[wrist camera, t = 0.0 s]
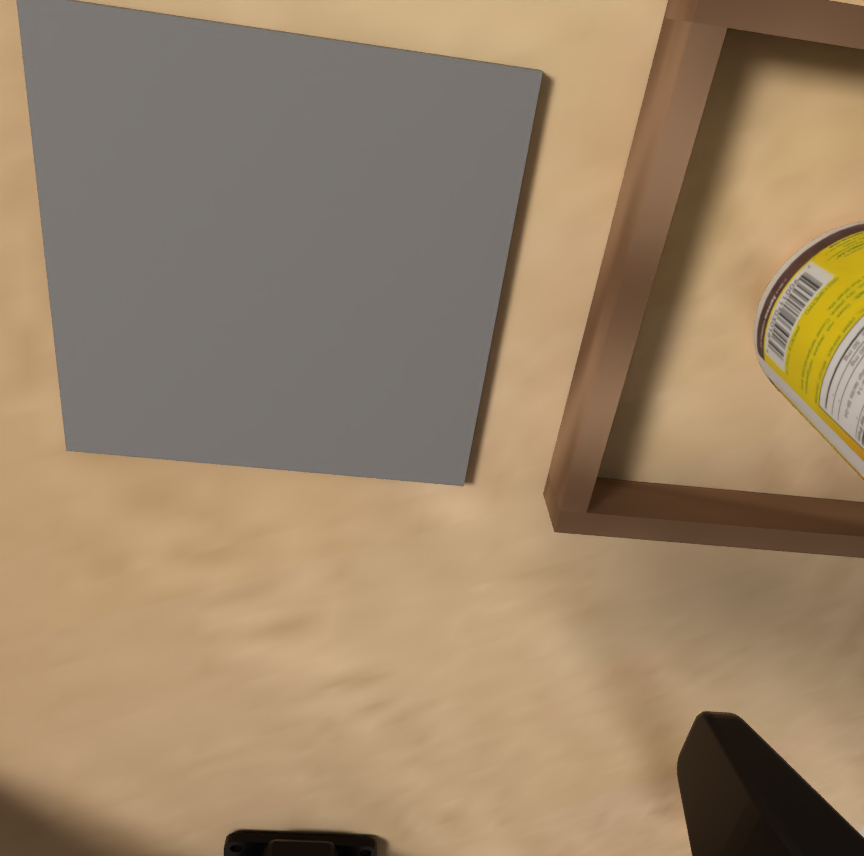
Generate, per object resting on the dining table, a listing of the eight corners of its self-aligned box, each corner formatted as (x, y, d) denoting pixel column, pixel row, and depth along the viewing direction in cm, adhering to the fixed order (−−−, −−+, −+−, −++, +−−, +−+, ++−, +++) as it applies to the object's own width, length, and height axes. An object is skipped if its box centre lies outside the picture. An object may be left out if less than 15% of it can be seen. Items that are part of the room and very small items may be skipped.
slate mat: (462, 479, 25) (463, 485, 24) (71, 443, 23) (66, 450, 23) (540, 69, 19) (543, 71, 19) (23, -8, 18) (15, -8, 17)
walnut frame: (955, 530, 27) (994, 568, 25) (543, 493, 25) (554, 532, 24) (1225, 70, 20) (1306, 79, 18) (674, -21, 18) (704, -21, 16)
